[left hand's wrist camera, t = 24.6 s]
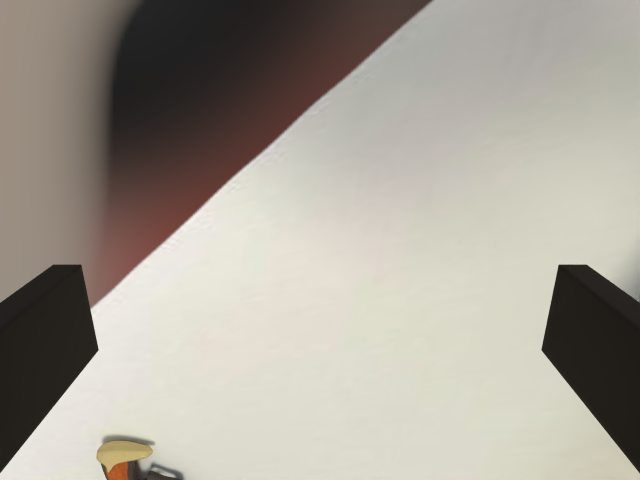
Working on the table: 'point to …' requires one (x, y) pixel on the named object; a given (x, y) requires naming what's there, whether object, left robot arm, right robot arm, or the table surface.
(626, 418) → the left robot arm
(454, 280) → the table surface
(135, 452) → the toy gun
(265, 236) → the table surface
